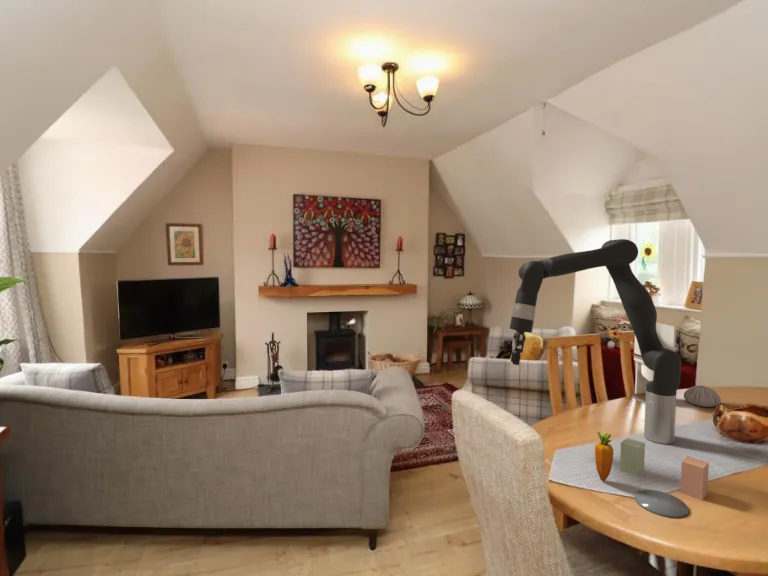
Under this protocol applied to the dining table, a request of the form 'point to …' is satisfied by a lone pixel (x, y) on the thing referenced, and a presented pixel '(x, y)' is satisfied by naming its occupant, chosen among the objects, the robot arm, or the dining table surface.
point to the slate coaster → (661, 503)
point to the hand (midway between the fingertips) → (514, 363)
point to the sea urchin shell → (702, 396)
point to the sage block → (632, 457)
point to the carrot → (603, 456)
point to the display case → (642, 372)
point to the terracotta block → (694, 477)
